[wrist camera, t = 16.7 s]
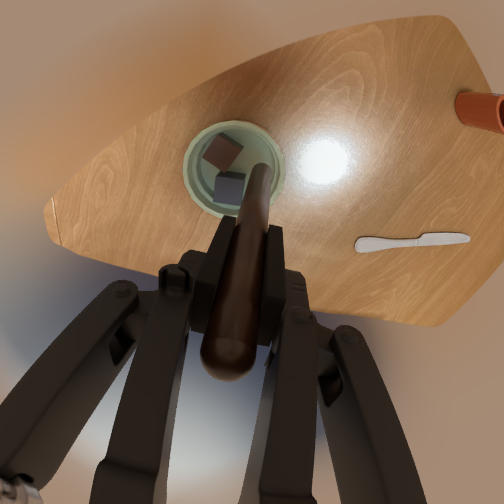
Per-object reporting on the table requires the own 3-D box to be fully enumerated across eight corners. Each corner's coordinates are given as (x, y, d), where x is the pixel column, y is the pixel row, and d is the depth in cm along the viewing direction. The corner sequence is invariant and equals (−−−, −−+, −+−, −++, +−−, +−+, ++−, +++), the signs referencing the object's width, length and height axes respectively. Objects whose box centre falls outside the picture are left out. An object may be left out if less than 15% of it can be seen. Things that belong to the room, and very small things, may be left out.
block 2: (220, 169, 35) (215, 175, 32) (246, 173, 35) (243, 179, 32) (217, 194, 37) (212, 202, 34) (242, 198, 37) (239, 206, 34)
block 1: (222, 132, 33) (217, 134, 30) (244, 147, 34) (241, 150, 31) (207, 153, 34) (201, 157, 31) (228, 167, 35) (224, 173, 32)
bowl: (201, 113, 32) (190, 113, 28) (292, 130, 33) (295, 133, 28) (188, 197, 38) (177, 209, 34) (271, 214, 39) (271, 228, 34)
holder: (457, 85, 26) (499, 87, 17) (480, 102, 26) (521, 108, 17) (452, 116, 28) (493, 123, 20) (474, 131, 28) (515, 143, 20)
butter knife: (356, 236, 39) (354, 253, 40) (472, 232, 36) (469, 247, 38) (355, 235, 39) (353, 252, 40) (471, 231, 36) (468, 245, 38)
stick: (260, 156, 26) (213, 355, 8) (276, 168, 26) (265, 379, 8) (248, 171, 27) (184, 375, 9) (263, 182, 27) (231, 395, 9)
